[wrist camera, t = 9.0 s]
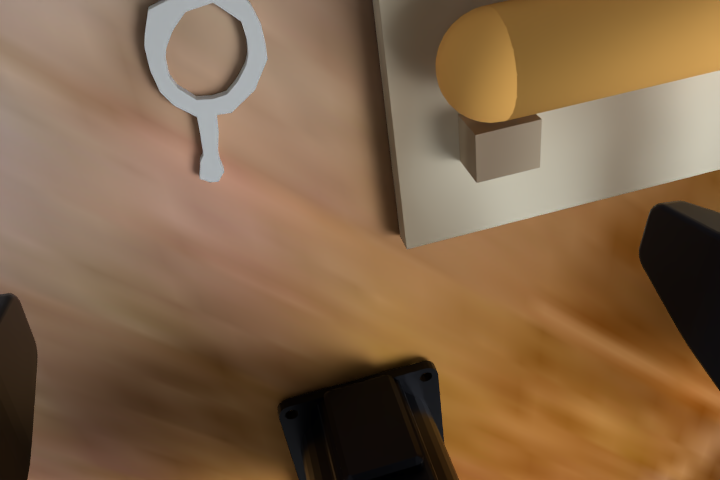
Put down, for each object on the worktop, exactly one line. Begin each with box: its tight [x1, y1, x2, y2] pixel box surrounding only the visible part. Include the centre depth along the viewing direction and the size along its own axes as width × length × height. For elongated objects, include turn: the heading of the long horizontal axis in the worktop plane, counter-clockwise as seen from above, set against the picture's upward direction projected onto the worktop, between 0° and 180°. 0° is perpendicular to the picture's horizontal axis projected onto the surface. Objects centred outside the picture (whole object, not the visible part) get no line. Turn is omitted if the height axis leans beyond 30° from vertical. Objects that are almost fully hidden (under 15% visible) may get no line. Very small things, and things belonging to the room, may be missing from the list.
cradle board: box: [372, 0, 720, 249], centre depth 19 cm, size 17×13×2 cm
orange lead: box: [435, 0, 720, 123], centre depth 18 cm, size 15×3×3 cm, turn 98°
